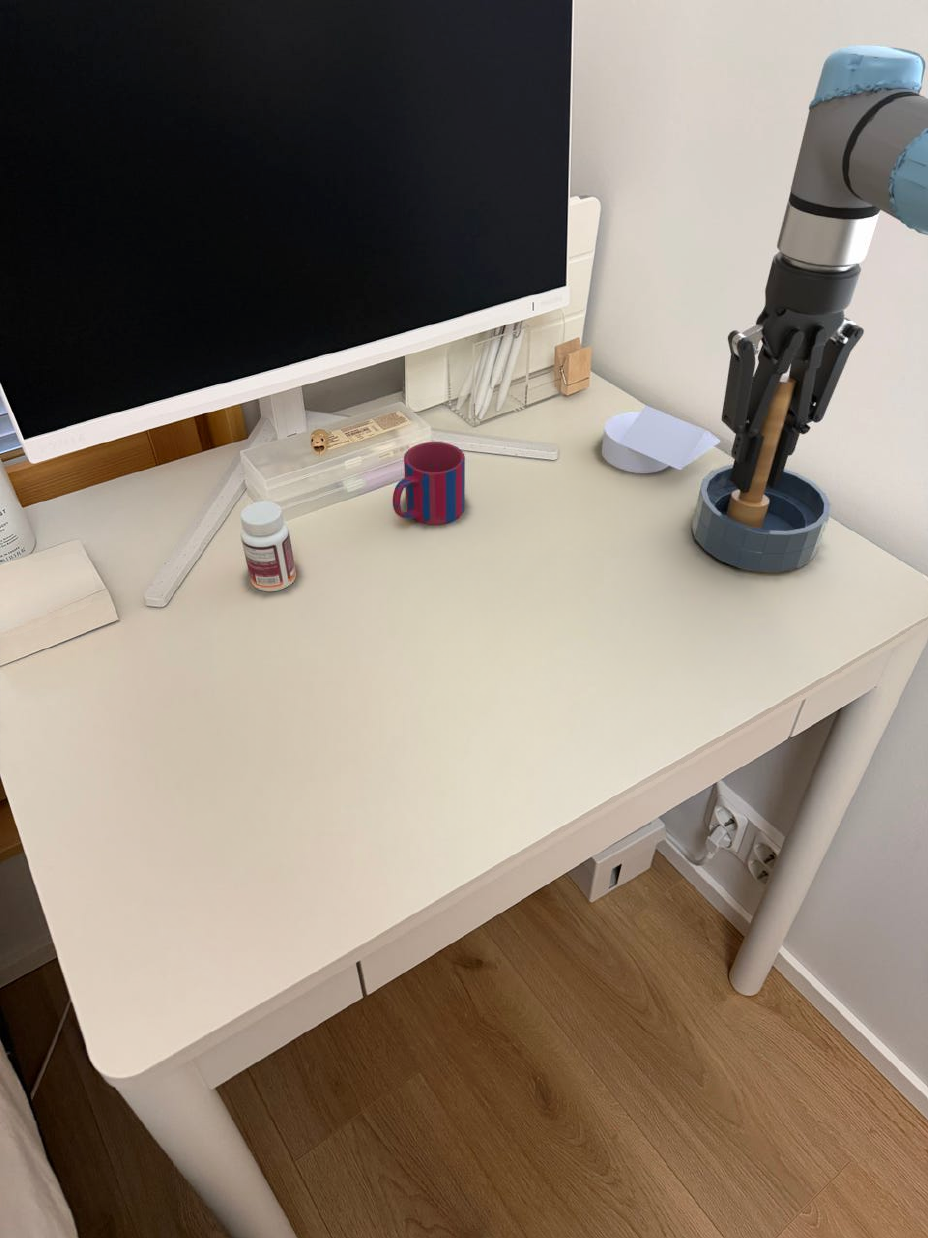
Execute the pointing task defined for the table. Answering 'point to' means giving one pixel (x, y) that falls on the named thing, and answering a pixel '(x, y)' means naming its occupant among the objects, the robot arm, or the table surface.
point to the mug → (432, 483)
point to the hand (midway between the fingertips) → (753, 482)
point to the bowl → (785, 528)
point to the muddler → (763, 461)
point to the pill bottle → (267, 546)
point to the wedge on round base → (653, 441)
